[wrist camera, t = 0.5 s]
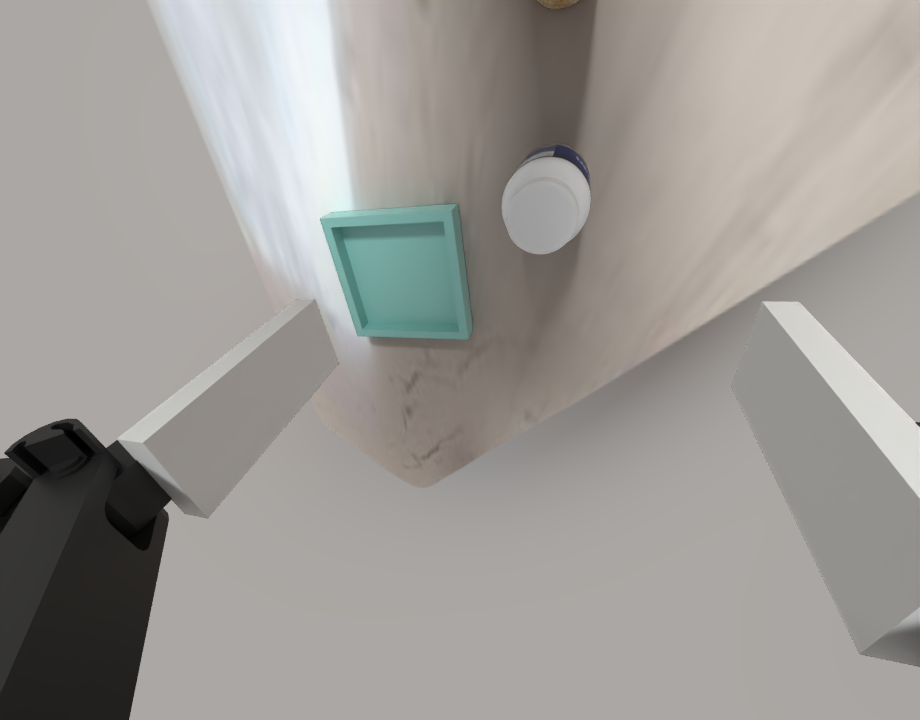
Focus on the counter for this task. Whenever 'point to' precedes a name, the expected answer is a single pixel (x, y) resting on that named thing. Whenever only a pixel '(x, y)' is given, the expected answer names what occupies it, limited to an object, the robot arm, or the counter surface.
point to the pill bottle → (547, 199)
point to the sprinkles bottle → (557, 3)
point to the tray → (402, 271)
